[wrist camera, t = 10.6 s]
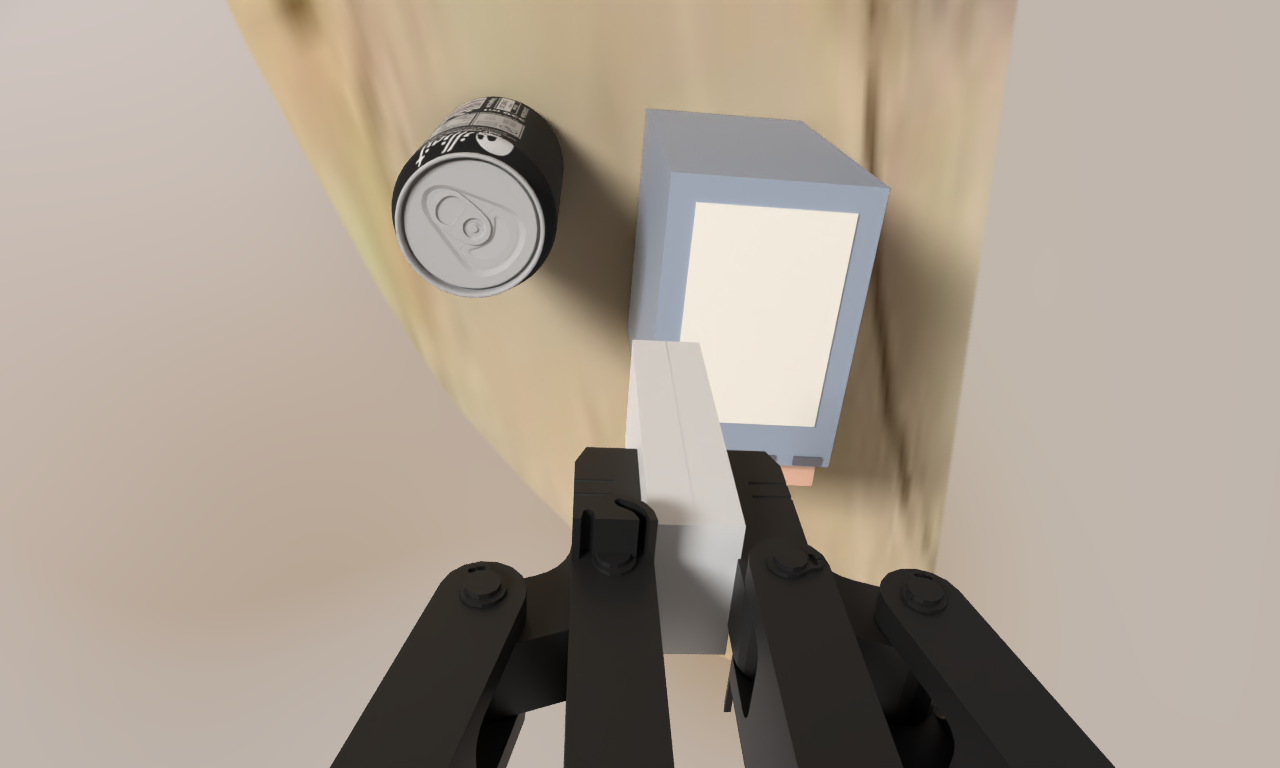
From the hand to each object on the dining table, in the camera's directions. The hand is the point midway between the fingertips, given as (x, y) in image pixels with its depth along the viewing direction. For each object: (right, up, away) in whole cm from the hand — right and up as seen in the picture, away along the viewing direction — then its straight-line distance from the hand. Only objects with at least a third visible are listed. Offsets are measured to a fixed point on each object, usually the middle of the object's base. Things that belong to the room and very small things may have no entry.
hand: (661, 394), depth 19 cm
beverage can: (-8, +12, +24) cm, 28 cm away
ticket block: (+3, +9, +26) cm, 28 cm away
